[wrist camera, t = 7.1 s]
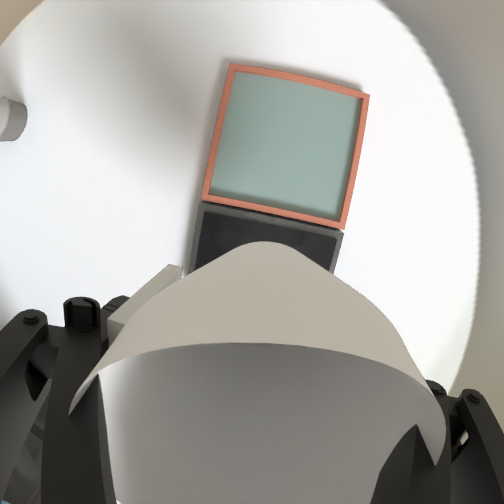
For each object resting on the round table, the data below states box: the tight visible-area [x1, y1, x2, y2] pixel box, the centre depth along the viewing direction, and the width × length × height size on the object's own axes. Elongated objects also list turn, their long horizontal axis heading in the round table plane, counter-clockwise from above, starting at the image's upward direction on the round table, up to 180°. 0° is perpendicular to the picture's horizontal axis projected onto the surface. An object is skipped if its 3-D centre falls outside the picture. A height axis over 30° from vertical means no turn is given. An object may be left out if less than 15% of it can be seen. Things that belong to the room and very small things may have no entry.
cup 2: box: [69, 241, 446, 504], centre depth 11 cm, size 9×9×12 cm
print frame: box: [201, 64, 370, 230], centre depth 23 cm, size 12×12×1 cm
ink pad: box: [188, 202, 344, 275], centre depth 25 cm, size 12×8×2 cm, turn 79°
